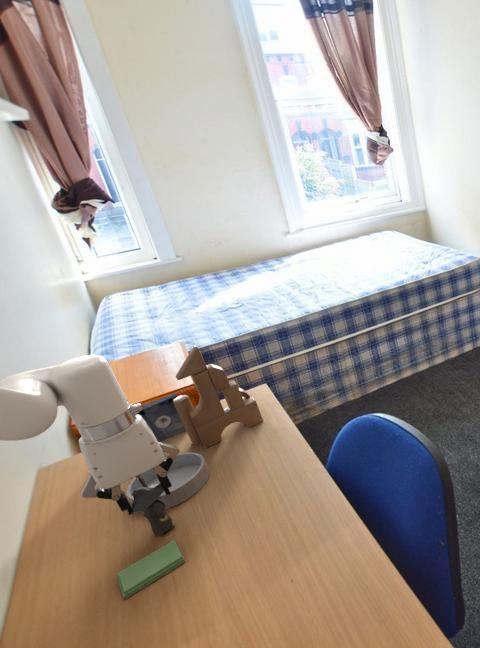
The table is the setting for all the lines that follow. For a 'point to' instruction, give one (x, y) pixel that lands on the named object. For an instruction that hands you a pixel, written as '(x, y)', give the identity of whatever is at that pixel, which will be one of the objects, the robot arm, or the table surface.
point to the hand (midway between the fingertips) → (148, 500)
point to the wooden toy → (212, 402)
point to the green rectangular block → (149, 569)
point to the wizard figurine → (152, 506)
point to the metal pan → (177, 478)
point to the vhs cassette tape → (162, 417)
